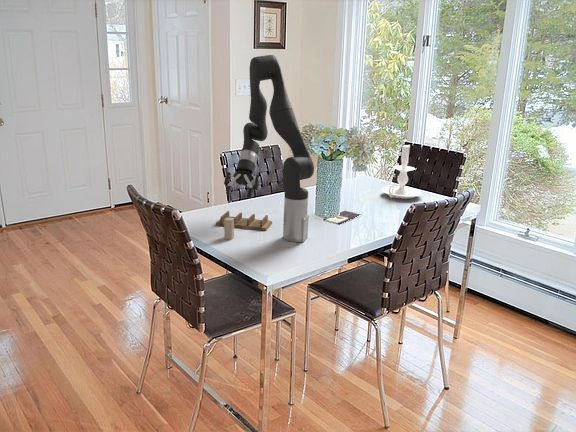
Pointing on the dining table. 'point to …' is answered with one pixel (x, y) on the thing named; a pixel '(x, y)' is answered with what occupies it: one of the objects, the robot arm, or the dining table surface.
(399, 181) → the candlestick
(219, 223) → the drying rack
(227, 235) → the clay bar
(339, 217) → the chocolate bar
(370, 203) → the dining table surface
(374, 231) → the dining table surface
